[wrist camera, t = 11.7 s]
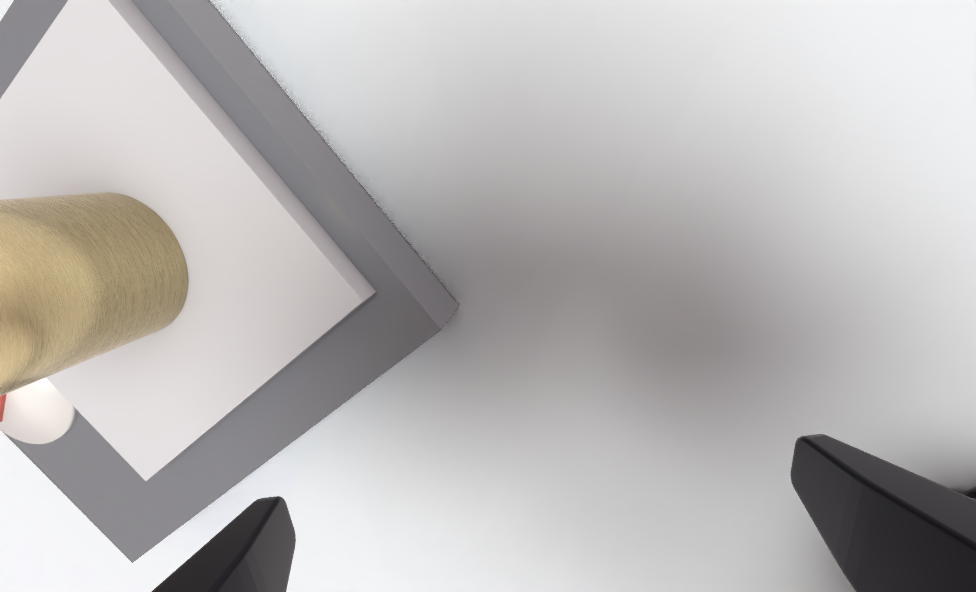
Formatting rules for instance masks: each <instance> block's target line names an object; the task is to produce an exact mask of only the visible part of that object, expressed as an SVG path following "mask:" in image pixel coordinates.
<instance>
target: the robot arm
mask: <svg viewBox="0 0 976 592" xmlns="http://www.w3.org/2000/svg"><path fill="white" fill-rule="evenodd" d="M791 480H792V484H793V486H794V489H795V491H796V492H797V494H798V496H799V497H800V499H801V501H802V503H803V504H804V506H805V508H806V510H807V511H808V513H809V515H810V517H811V518H812V520H813V522H814V524H815V525H816V527H817V529H818V531H819V532H820V534H821V536H822V538H823V539H824V541H825V543H826V544H827V546H828V548H829V550H830V551H831V553H832V555H833V557H834V558H835V560H836V562H837V563H838V565H839V567H840V568H841V570H842V571H843V573H844V574H845V576H846V577H847V579H848V580H849V582H850V583H851V585H852V586H853V588H854V589H855V591H856V592H976V492H974V493H972V494H969V495H967V496H965V495H963V494H960V493H958V492H956V491H954V490H951V489H949V488H947V487H944V486H942V485H940V484H937V483H935V482H933V481H931V480H928V479H926V478H924V477H921V476H919V475H917V474H914V473H912V472H910V471H907V470H905V469H903V468H901V467H898V466H896V465H894V464H891V463H889V462H887V461H884V460H882V459H880V458H878V457H875V456H873V455H871V454H868V453H866V452H864V451H861V450H859V449H857V448H854V447H852V446H850V445H848V444H845V443H843V442H841V441H838V440H836V439H834V438H831V437H829V436H827V435H823V434H817V435H808V436H802V437H799V438H798V439H797V441H796V444H795V449H794V455H793V462H792V468H791ZM295 541H296V539H295V531H294V527H293V524H292V521H291V518H290V514H289V511H288V508H287V505H286V502H285V500H284V499H283V498H282V497H279V496H277V497H269V498H261V499H258V500H256V501H255V502H253V503H252V504H251V505H250V506H249V507H248V508H246V509H245V510H244V511H243V512H242V513H241V514H240V515H238V516H237V517H236V518H235V519H234V520H233V521H232V522H230V523H229V524H228V525H227V526H226V527H225V528H224V529H222V530H221V531H220V532H219V533H218V534H217V535H216V536H215V537H213V538H212V539H211V540H210V541H209V542H208V543H207V544H205V545H204V546H203V547H202V548H201V549H200V550H199V551H197V552H196V553H195V554H194V555H193V556H192V557H191V558H189V559H188V560H187V561H186V562H185V563H184V564H183V565H181V566H180V567H179V568H178V569H177V570H176V571H175V572H173V573H172V574H171V575H170V576H169V577H168V578H167V579H165V580H164V581H163V582H162V583H161V584H160V585H159V586H157V587H156V588H155V589H154V590H153V591H152V592H286V589H287V584H288V579H289V574H290V569H291V564H292V559H293V554H294V549H295Z"/></svg>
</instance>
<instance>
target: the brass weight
mask: <svg viewBox="0 0 976 592" xmlns="http://www.w3.org/2000/svg"><path fill="white" fill-rule="evenodd" d="M187 290H188V272H187V266H186V261H185V258H184V255H183V252H182V249H181V247H180V245H179V242H178V240H177V239H176V237H175V235H174V234H173V232H172V231H171V229H170V228H169V226H168V225H167V224H166V223H165V221H164V220H163V219H162V218H161V217H160V216H159V215H158V214H157V213H156V212H154V211H153V210H152V209H151V208H149V207H148V206H147V205H145V204H144V203H142V202H140V201H138V200H136V199H134V198H132V197H129V196H127V195H123V194H119V193H112V192H103V193H88V194H74V195H59V196H45V197H30V198H16V199H2V200H0V396H2V395H4V394H7V393H9V392H12V391H14V390H16V389H19V388H21V387H24V386H26V385H29V384H31V383H33V382H36V381H38V380H41V379H43V378H46V377H48V376H50V375H53V374H55V373H58V372H60V371H63V370H65V369H67V368H70V367H72V366H75V365H77V364H80V363H82V362H84V361H87V360H89V359H92V358H94V357H96V356H99V355H101V354H104V353H106V352H109V351H111V350H113V349H116V348H118V347H121V346H123V345H126V344H128V343H130V342H133V341H135V340H138V339H140V338H143V337H145V336H147V335H150V334H152V333H155V332H157V331H159V330H161V329H163V328H165V327H166V326H168V325H169V324H171V323H172V321H173V320H174V319H175V318H176V317H177V316H178V314H179V313H180V311H181V309H182V307H183V305H184V302H185V299H186V296H187Z"/></svg>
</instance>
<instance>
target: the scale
mask: <svg viewBox="0 0 976 592" xmlns="http://www.w3.org/2000/svg"><path fill="white" fill-rule="evenodd" d="M103 192H112V193H119V194H123V195H127V196H129V197H132V198H134V199H136V200H138V201H140V202H142V203H144V204H145V205H147V206H148V207H149V208H151V209H152V210H153V211H154V212H156V213H157V214H158V215H159V216H160V217H161V218H162V219H163V220H164V221H165V223H166V224H167V225H168V226H169V228H170V229H171V231H172V232H173V234H174V235H175V237H176V239H177V240H178V242H179V245H180V247H181V249H182V252H183V255H184V258H185V261H186V266H187V272H188V290H187V296H186V299H185V302H184V305H183V307H182V309H181V311H180V313H179V314H178V316H177V317H176V318H175V319H174V320H173V321H172V323H171V324H169V325H168V326H166V327H165V328H163V329H161V330H159V331H157V332H155V333H152V334H150V335H147V336H145V337H143V338H140V339H138V340H135V341H133V342H130V343H128V344H126V345H123V346H121V347H118V348H116V349H113V350H111V351H109V352H106V353H104V354H101V355H99V356H96V357H94V358H92V359H89V360H87V361H84V362H82V363H80V364H77V365H75V366H72V367H70V368H67V369H65V370H63V371H60V372H58V373H55V374H53V375H50V376H48V377H46V378H43V379H41V380H38V381H36V382H33V383H31V384H29V385H26V386H24V387H21V388H19V389H16V390H14V391H12V392H9V393H7V394H4V395H2V396H0V430H1V431H2V432H3V433H4V434H5V435H6V436H7V437H8V438H9V439H10V440H11V441H12V442H13V443H14V444H15V445H16V446H17V447H18V448H19V449H20V450H21V451H22V452H23V453H24V454H25V455H26V456H27V457H28V458H29V459H30V460H31V461H32V462H33V463H34V464H35V465H36V466H37V467H38V468H39V469H40V470H41V471H42V472H43V473H44V474H45V475H46V476H47V477H48V478H49V479H50V480H51V481H52V482H53V483H54V484H55V485H56V486H57V487H58V488H59V489H60V490H61V491H62V492H63V493H64V494H65V495H66V496H67V497H68V498H69V499H70V500H71V501H72V502H73V503H74V504H75V505H76V506H77V507H78V508H79V509H80V510H81V511H82V512H83V513H84V514H85V515H86V516H87V517H88V518H89V519H90V521H91V522H92V523H93V524H94V525H95V526H96V527H97V528H98V529H99V530H100V531H101V532H102V533H103V534H104V535H105V536H106V537H107V538H108V539H109V540H110V541H111V542H112V543H113V544H114V545H115V546H116V547H117V548H118V549H119V550H120V551H121V552H122V553H123V554H124V555H125V556H126V557H127V558H128V559H129V560H130V561H131V562H132V563H133V562H134V561H135V560H137V559H138V558H139V557H141V556H142V555H143V554H145V553H146V552H147V551H149V550H150V549H151V548H153V547H154V546H155V545H157V544H158V543H159V542H161V541H162V540H163V539H165V538H166V537H167V536H168V535H170V534H171V533H172V532H174V531H175V530H176V529H178V528H179V527H180V526H182V525H183V524H184V523H186V522H187V521H188V520H190V519H191V518H192V517H194V516H195V515H196V514H198V513H199V512H200V511H202V510H203V509H204V508H206V507H207V506H208V505H210V504H211V503H212V502H214V501H215V500H216V499H217V498H219V497H220V496H221V495H223V494H224V493H225V492H227V491H228V490H229V489H231V488H232V487H233V486H235V485H236V484H237V483H239V482H240V481H241V480H243V479H244V478H245V477H247V476H248V475H249V474H251V473H252V472H253V471H255V470H256V469H257V468H259V467H260V466H261V465H263V464H264V463H265V462H267V461H268V460H269V459H270V458H272V457H273V456H274V455H276V454H277V453H278V452H280V451H281V450H282V449H284V448H285V447H286V446H288V445H289V444H290V443H292V442H293V441H294V440H296V439H297V438H298V437H300V436H301V435H302V434H304V433H305V432H306V431H308V430H309V429H310V428H312V427H313V426H314V425H316V424H317V423H318V422H320V421H321V420H322V419H323V418H325V417H326V416H327V415H329V414H330V413H331V412H333V411H334V410H335V409H337V408H338V407H339V406H341V405H342V404H343V403H345V402H346V401H347V400H349V399H350V398H351V397H353V396H354V395H355V394H357V393H358V392H359V391H361V390H362V389H363V388H365V387H366V386H367V385H369V384H370V383H371V382H373V381H374V380H375V379H376V378H378V377H379V376H380V375H382V374H383V373H384V372H386V371H387V370H388V369H390V368H391V367H392V366H394V365H395V364H396V363H398V362H399V361H400V360H402V359H403V358H404V357H406V356H407V355H408V354H410V353H411V352H412V351H414V350H415V349H416V348H418V347H419V346H420V345H422V344H423V343H424V342H426V341H427V340H428V339H429V338H431V337H432V336H433V335H435V334H436V333H437V332H439V331H440V330H441V329H442V328H443V327H444V325H445V324H446V323H447V321H448V320H449V319H450V317H451V316H452V315H453V313H454V312H455V311H456V309H457V308H458V307H459V304H458V303H457V302H456V301H455V299H454V298H453V297H452V296H451V295H450V293H449V292H448V291H447V290H446V288H445V287H444V286H443V285H442V284H441V282H440V281H439V280H438V279H437V278H436V276H435V275H434V274H433V273H432V271H431V270H430V269H429V268H428V267H427V265H426V264H425V263H424V262H423V260H422V259H421V258H420V257H419V256H418V254H417V253H416V252H415V251H414V249H413V248H412V247H411V246H410V245H409V243H408V242H407V241H406V240H405V239H404V237H403V236H402V235H401V234H400V232H399V231H398V230H397V229H396V228H395V226H394V225H393V224H392V223H391V221H390V220H389V219H388V218H387V217H386V215H385V214H384V213H383V212H382V210H381V209H380V208H379V207H378V206H377V204H376V203H375V202H374V201H373V200H372V198H371V197H370V196H369V195H368V193H367V192H366V191H365V190H364V189H363V187H362V186H361V185H360V184H359V182H358V181H357V180H356V179H355V178H354V176H353V175H352V174H351V173H350V171H349V170H348V169H347V168H346V167H345V165H344V164H343V163H342V162H341V161H340V159H339V158H338V157H337V156H336V154H335V153H334V152H333V151H332V150H331V148H330V147H329V146H328V145H327V143H326V142H325V141H324V140H323V139H322V137H321V136H320V135H319V134H318V132H317V131H316V130H315V129H314V128H313V126H312V125H311V124H310V123H309V122H308V120H307V119H306V118H305V117H304V115H303V114H302V113H301V112H300V111H299V109H298V108H297V107H296V106H295V104H294V103H293V102H292V101H291V100H290V98H289V97H288V96H287V95H286V93H285V92H284V91H283V90H282V89H281V87H280V86H279V85H278V84H277V83H276V81H275V80H274V79H273V78H272V76H271V75H270V74H269V73H268V72H267V70H266V69H265V68H264V67H263V65H262V64H261V63H260V62H259V61H258V59H257V58H256V57H255V56H254V54H253V53H252V52H251V51H250V50H249V48H248V47H247V46H246V45H245V44H244V42H243V41H242V40H241V39H240V37H239V36H238V35H237V34H236V33H235V31H234V30H233V29H232V28H231V26H230V25H229V24H228V23H227V22H226V20H225V19H224V18H223V17H222V15H221V14H220V13H219V12H218V11H217V9H216V8H215V7H214V6H213V5H212V3H211V2H210V1H209V0H14V1H13V3H12V5H11V6H10V8H9V9H8V11H7V12H6V14H5V15H4V17H3V18H2V20H1V22H0V200H2V199H16V198H30V197H45V196H59V195H74V194H88V193H103Z"/></svg>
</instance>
